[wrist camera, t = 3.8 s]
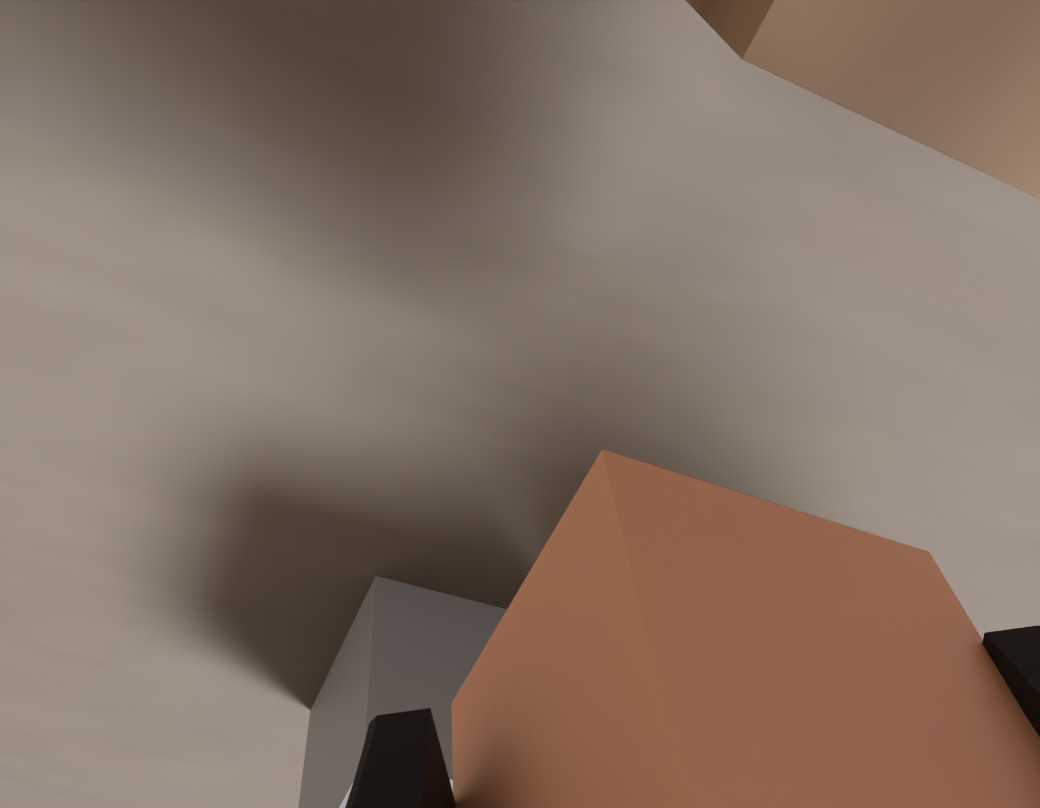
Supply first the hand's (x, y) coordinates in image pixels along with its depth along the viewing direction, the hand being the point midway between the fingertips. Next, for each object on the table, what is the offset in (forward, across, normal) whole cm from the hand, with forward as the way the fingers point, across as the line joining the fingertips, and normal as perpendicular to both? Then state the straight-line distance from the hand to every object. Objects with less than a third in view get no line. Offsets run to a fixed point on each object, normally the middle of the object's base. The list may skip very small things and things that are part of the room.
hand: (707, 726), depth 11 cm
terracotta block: (+1, 0, 0) cm, 1 cm away
